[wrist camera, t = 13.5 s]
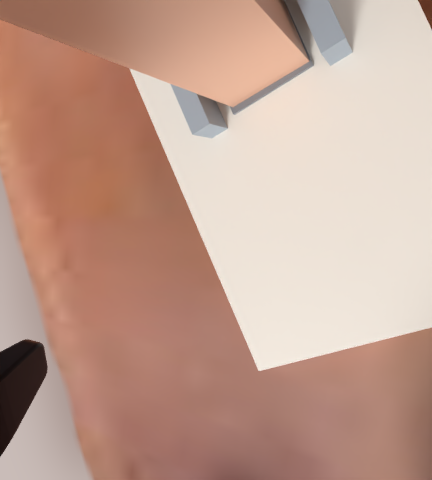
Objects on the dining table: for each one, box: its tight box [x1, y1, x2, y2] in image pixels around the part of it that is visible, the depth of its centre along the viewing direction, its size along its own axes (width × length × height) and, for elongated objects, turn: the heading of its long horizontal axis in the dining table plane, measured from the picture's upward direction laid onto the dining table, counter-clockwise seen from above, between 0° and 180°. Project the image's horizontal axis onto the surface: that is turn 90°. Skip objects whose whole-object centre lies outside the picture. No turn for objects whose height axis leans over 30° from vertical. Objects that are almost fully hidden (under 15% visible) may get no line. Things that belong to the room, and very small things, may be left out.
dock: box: [130, 0, 432, 371], centre depth 17 cm, size 20×13×4 cm, turn 26°
